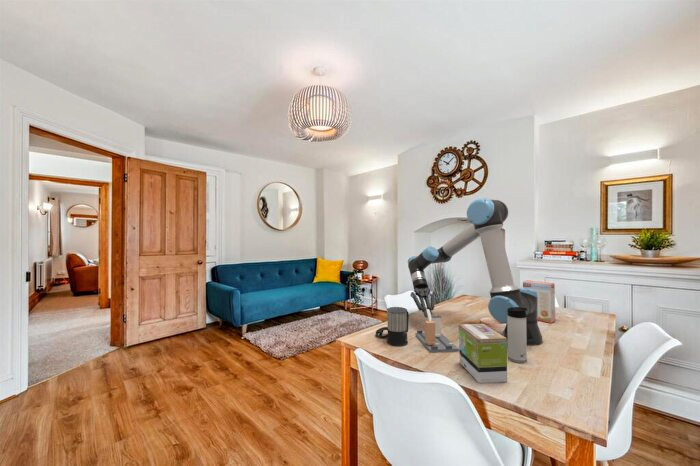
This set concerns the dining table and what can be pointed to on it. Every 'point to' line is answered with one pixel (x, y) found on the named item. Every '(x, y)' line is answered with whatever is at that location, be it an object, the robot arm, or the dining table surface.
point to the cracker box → (543, 299)
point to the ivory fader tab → (437, 324)
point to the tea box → (483, 353)
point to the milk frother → (396, 326)
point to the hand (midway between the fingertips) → (430, 322)
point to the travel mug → (517, 334)
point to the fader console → (435, 340)
